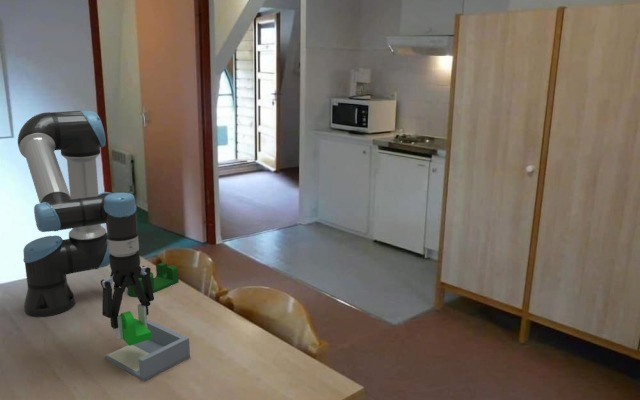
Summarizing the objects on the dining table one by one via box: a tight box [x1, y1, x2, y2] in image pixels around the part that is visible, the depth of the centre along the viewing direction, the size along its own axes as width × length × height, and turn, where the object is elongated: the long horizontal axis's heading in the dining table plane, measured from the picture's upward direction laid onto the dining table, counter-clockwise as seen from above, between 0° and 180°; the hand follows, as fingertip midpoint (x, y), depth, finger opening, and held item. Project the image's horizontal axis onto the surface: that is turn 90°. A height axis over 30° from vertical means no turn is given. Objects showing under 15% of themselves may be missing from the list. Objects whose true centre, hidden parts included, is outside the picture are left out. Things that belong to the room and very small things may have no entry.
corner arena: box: [103, 319, 191, 382], centre depth 150 cm, size 18×15×6 cm
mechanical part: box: [112, 310, 152, 346], centre depth 146 cm, size 12×6×8 cm, turn 40°
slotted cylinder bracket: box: [126, 262, 180, 298], centre depth 197 cm, size 18×9×6 cm, turn 147°
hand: (131, 332), depth 147 cm, fingers closed on mechanical part, 7 cm apart
